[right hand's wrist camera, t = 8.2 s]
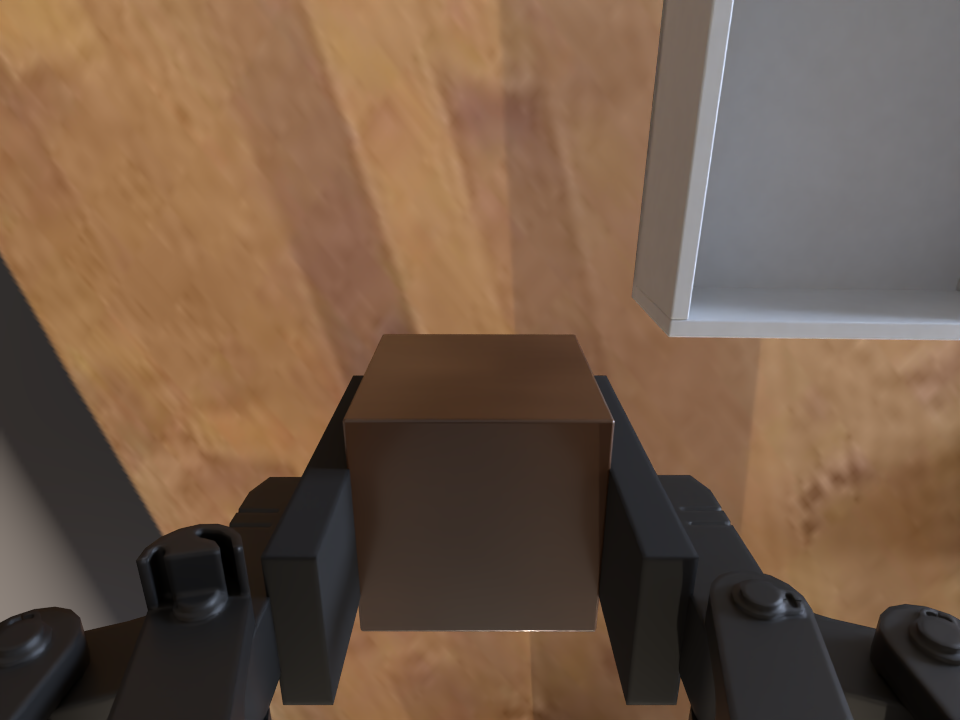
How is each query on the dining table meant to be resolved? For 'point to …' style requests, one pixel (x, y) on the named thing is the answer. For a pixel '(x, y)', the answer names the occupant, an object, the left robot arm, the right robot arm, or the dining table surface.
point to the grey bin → (804, 171)
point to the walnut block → (479, 484)
